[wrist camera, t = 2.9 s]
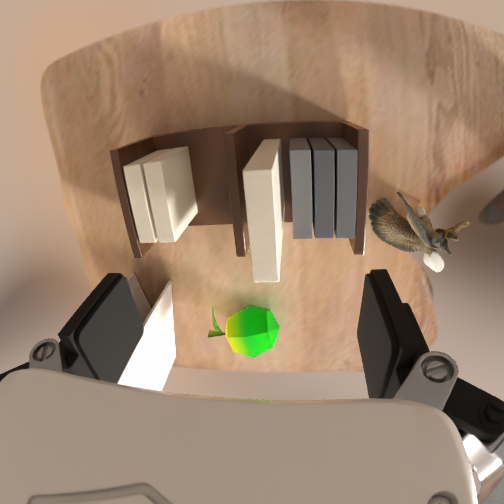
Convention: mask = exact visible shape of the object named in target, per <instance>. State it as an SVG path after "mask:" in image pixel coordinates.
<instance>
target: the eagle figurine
mask: <svg viewBox="0 0 504 504" xmlns="http://www.w3.org/2000/svg"><path fill="white" fill-rule="evenodd" d="M397 194H398V195H399V197H400V198H401V199H402V201H403V202H404V205H405V211H406V216H407V220H408V221H407V220H406V219H405V218H403V217H402V216H401V215H399V214H398V213H397V212H396V211H395V209H394V208H393V207H392V206H391V205H390V203H389V202H388V201H387V200H386V199H382V201H379V200H378V201H377V202H376V204H375V203H374V204H372V205H371V208H370V209H369V212H370V215H369V218H370V220H371V221H372V223H371V226H372V227H373V231H374V232H375V234H377V236H378V237H379V238H381V240H382V241H385V242H386V243H388V244H389V245H392V246H394V247H395V248H399V249H400V250H402V251H406V252H407V251H408V252H414V251H418V250H419V251H421V250H423V251H424V262H425V264H426V265H427V266H429V267H430V268H431V269H432V270H434V271H435V272H439V271H441V270H442V269H443V268H444V260H443V258H442V257H441V256H440V254H438V252H437V251H436V249H437V248H438V247H436V246H435V243H438V242H440V249H441V251H442V250H443V249H444V250H445V251H446V252H447V253H448V255H450V256H451V255H452V254H451V252H450V250H449V248H448V241H447V240H448V239H451V240H454V241H458V239H459V238H458V236H457V234H455V233H456V232H457V231H458V230H460V229H461V228H463V227H466V226H468V225H470V222H462V223H459V224H457V225H456V226H455V227H452V228H449V229H447V230H443V229H436V230H434V229H433V228H432V224H431V222H430V219H429V218H428V216H427V214H426V213H425V211H424V209H423V207H422V205H421V201H418V204H417V207H416V213H417V215H416V214H415V212H414V211H413V209H412V208H411V207H410V206H409V205H408V204H407V202H406V200H405V199H404V197H403V195H402V194H401V193H399V192H397Z"/></svg>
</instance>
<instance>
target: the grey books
mask: <svg viewBox="0 0 504 504" xmlns="http://www.w3.org/2000/svg"><path fill="white" fill-rule="evenodd" d="M308 143H309V145H308ZM289 151H290V169H291V190H292V215H293V239H312V221H313V228H314V235H315V238H333V237H334V231H335V235H336V238H355V225H356V204H357V149H356V148H354V147H353V146H352V145H351V144H349V143H348V142H347V141H346V140H344V139H343V138H327V141H326V140H325V138H308V142H307V139H306V138H290V150H289Z"/></svg>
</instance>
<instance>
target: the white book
mask: <svg viewBox="0 0 504 504" xmlns="http://www.w3.org/2000/svg"><path fill="white" fill-rule="evenodd" d="M243 182H244V192H245V202H246V212H247V223H248V233H249V243H250V253H251V263H252V274H253V281H254V282H278V281H279V274H280V262H281V250H282V237H283V224H284V210H285V206H284V186H283V169H282V152H281V139H264V140H263V141H262V143H261V144H260V146H259V147H258V149H257V150H256V152H255V153H254V155H253V156H252V158H251V159H250V161H249V162H248V164H247V165H246V167H245V168H244V170H243Z"/></svg>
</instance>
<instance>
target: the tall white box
mask: <svg viewBox="0 0 504 504" xmlns="http://www.w3.org/2000/svg"><path fill="white" fill-rule="evenodd" d="M127 281H128V284H129V287H130V290H131V293H132V296H133V299H134V302H135V304H136V307H137V310H138V313H139V316H140V318H141V321H142V324H143V327H144V333H143V336H142V338H141V339H140V341H139V343H138V345H137V347H136V349H135V351H134V353H133V355H132V356H131V358H130V360H129V362H128V364H127V366H126V368H125V370H124V372H123V374H122V376H121V378H120V380H119V382H118V384H121V385H127V386H133V387H139V388H145V389H151V390H158V391H162V388H163V386H164V384H165V381H166V379H167V376H168V374H169V371H170V369H171V367H172V364H173V362H174V359H175V357H176V350H175V338H174V324H173V307H172V286H171V281H170V280H169V281H168V283H167V285H166V286H165V288H164V290H163V291H162V293H161V295H160V296H159V298H158V300H157V301H156V303H155V305H154V306H153V308H152V309H151V307H150V305H149V303H148V301H147V299H146V297H145V295H144V293H143V291H142V289H141V287H140V284H139V282H138V280H137V278H136V276H135V274H134V273H132V274H131V275H130V277H129V278H128V279H127Z"/></svg>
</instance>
